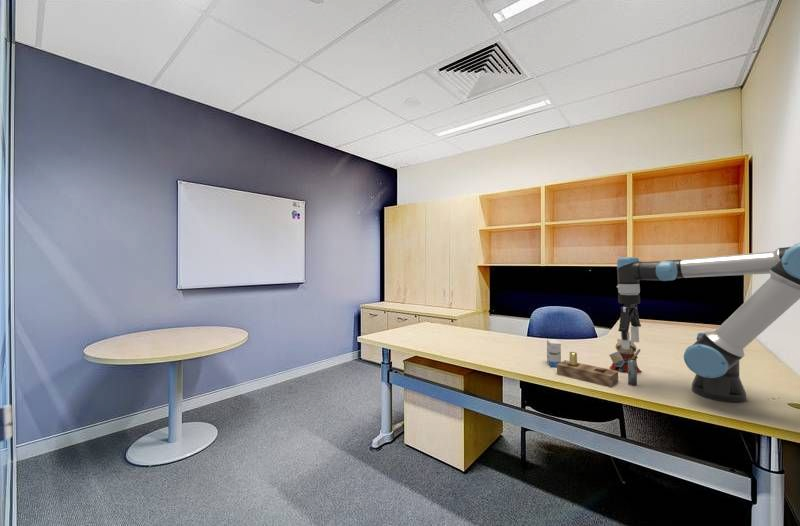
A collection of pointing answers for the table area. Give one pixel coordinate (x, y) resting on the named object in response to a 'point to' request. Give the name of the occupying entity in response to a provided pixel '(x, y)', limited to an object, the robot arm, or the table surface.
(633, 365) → the steel peg
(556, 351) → the ink box
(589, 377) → the hole block
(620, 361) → the figurine
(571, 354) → the brass peg
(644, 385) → the table surface
